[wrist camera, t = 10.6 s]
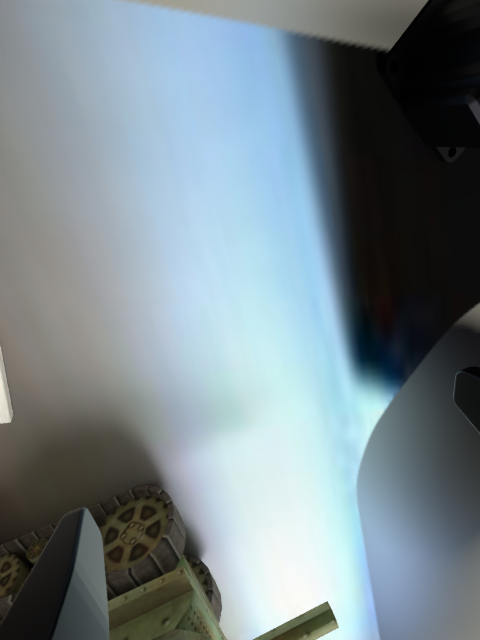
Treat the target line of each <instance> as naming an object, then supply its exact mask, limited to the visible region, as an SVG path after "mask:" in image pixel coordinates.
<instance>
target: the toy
mask: <svg viewBox="0 0 480 640" xmlns="http://www.w3.org/2000/svg"><path fill="white" fill-rule="evenodd" d="M87 509H88V510H89V512H90V514H91V515H92V517H93V519H94V521H95V523H96V525H97V526H98V528H99V530H100V533H101V536H102V542H103V554H104V566H105V577H106V589H107V601H108V614H109V640H227V639H226V637H225V636H224V634H223V632H222V630H221V628H220V626H219V622H220V616H221V610H222V604H221V594H220V592H219V589H218V587H217V584H216V582H215V580H214V579H213V577H212V575H211V573H210V571H209V569H208V567H207V566H206V565H205V564H204V563H203V562H202V561H201V560H200V559H198V558H196V557H194V556H191V555H183V551H184V547H185V543H186V529H185V526H184V524H183V521H182V518H181V516H180V515H179V513H178V511H177V509H176V507H175V505H174V503H173V501H172V499H171V498H170V496H169V495H168V494H167V493H166V492H165V491H164V490H163V489H162V488H159V487H156V486H153V485H139V486H137V487H135V488H132V489H130V490H128V491H125V492H123V493H121V494H118V495H116V496H114V497H111V498H109V499H107V500H104V501H102V502H100V503H97V504H95V505H93V506H90V507H88V508H87ZM60 520H61V519H60ZM60 520H58V521H55V522H53V523H51V524H48V525H46V526H44V527H41V528H39V529H37V530H34V531H32V532H30V533H27V534H25V535H23V536H20V537H18V538H16V539H13V540H11V541H9V542H6V543H4V544H2V545H0V624H1V622H2V620H3V619H4V617H5V615H6V614H7V612H8V610H9V608H10V607H11V605H12V603H13V601H14V600H15V598H16V596H17V595H18V593H19V591H20V589H21V588H22V586H23V584H24V582H25V581H26V579H27V577H28V575H29V574H30V572H31V570H32V569H33V568H30V569H29V568H28V567H27V566H26V565H25V564H28V563H30V562H31V563H32V564H33V565H35V563H36V562H37V560H38V558H39V556H40V555H41V553H42V551H43V550H44V548H45V546H46V544H47V543H48V541H49V539H50V537H51V536H52V534H53V532H54V531H55V529H56V527H57V525H58V524H59V522H60ZM337 628H339V627H338V624H337V621H336V619H335V616H334V614H333V612H332V609H331V607H330V605H329V603H328V601H327V602H325V603H323V604H321V605H319V606H317V607H315V608H313V609H311V610H309V611H308V612H306V613H304V614H302V615H300V616H298V617H296V618H294V619H292V620H290V621H288V622H286V623H284V624H282V625H280V626H278V627H276V628H275V629H273V630H271V631H269V632H267V633H265V634H263V635H261V636H259V637H257V638H255V639H253V640H316V639H318V638H320V637H322V636H324V635H325V634H327V633H329V632H331V631H333V630H335V629H337Z"/></svg>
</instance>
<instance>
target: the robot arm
mask: <svg viewBox="0 0 480 640" xmlns="http://www.w3.org/2000/svg"><path fill="white" fill-rule="evenodd" d="M391 63H393V64H394V71H393V73H392V72H391V70H390V65H391ZM380 74H381V76H382V78H383V80H384V81H385V83H386V84H387V85H388V87H389V88H390V90H391V91H392V93H393V94H394V95H395V97H396V98H397V100H398V101H399V103H400V104H401V105H402V112H403V114H404V115H405V116H406V118H407V119H408V121H409V122H410V124H411V125H412V126H413V128H414V129H415V131H416V132H417V133H418V135H419V136H420V138H421V139H422V141H423V142H424V143H425V145H426V146H427V147H431V148H432V150H433V151H434V153H435V154H436V156H437V157H438V158H439V160H440V161H441V162H449V163H451V162H453V161H455V160H456V159H457V158H458V157H459V155H460V154H461V153H462V152H463V151H464V149H465V148H466V147H470V148H480V0H429V1H428V2H427V3H426V4H425V6H424V7H423V8H422V10H421V11H420V12H419V14H418V15H417V16H416V17H415V19H414V20H413V21H412V23H411V24H410V25H409V27H408V28H407V29H406V31H405V32H404V33H403V34H402V36H401V37H400V38H399V40H398V41H397V42H396V43H395V45H394V46H393V47H392V49H391V50H390V51H389V53H388V54H387V55H386V56H385V58H384V59H383V61H382V63H381V66H380ZM449 149H450V154H449V155H448V151H449ZM453 399H454V402H455V404H456V406H457V407H458V408H459V409H460V411H461V412H462V413H463V414H464V416H465V417H466V418H467V419H468V420H469V421H470V423H471V424H472V425H473V426H474V427H475V428H476V430H477V431H478V432H479V433H480V368H479V367H468V368H466V369H463V370H460V371H458V372H457V374H456V377H455V385H454V393H453ZM0 640H109V614H108V601H107V589H106V577H105V566H104V554H103V542H102V536H101V533H100V530H99V528H98V526H97V525H96V523H95V521H94V519H93V517H92V515H91V514H90V512H89V510H88V509H87V508H86V507H81V508H78V509H76V510H73V511H70V512H68V513H66V514H65V515H64V516H63V517H62V518H61V520H60V522H59V524H58V525H57V527H56V529H55V531H54V532H53V534H52V536H51V537H50V539H49V541H48V543H47V544H46V546H45V548H44V550H43V551H42V553H41V555H40V556H39V558H38V560H37V562H36V563H35V565H34V567H33V569H32V570H31V572H30V574H29V575H28V577H27V579H26V581H25V582H24V584H23V586H22V588H21V589H20V591H19V593H18V595H17V596H16V598H15V600H14V601H13V603H12V605H11V607H10V608H9V610H8V612H7V614H6V615H5V617H4V619H3V620H2V622H1V624H0Z"/></svg>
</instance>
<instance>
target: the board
mask: <svg viewBox="0 0 480 640" xmlns="http://www.w3.org/2000/svg"><path fill="white" fill-rule="evenodd" d="M12 417H13V410H12V405H11V400H10V394H9V389H8V384H7V378H6V373H5V367H4V362H3V357H2V351H1V346H0V423H10V422H11V420H12Z"/></svg>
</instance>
